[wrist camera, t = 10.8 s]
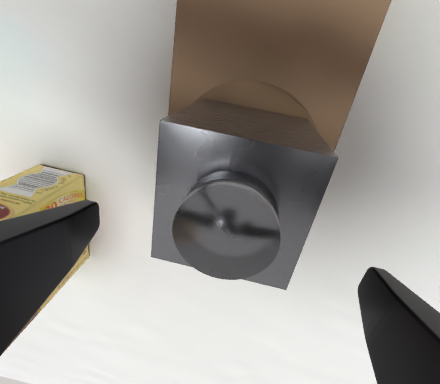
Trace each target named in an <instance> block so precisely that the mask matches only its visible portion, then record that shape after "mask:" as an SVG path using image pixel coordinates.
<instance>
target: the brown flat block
mask: <svg viewBox="0 0 440 384" xmlns="http://www.w3.org/2000/svg"><path fill="white" fill-rule="evenodd" d="M390 3H391V0H177V8H176V22H175V35H174V48H173V61H172V75H171V88H170V101H169V114H168V116H169V115H171V114H173V113H175V112H177V111H179V110H181V109H183V108H185V107H187V106H189V105H191V104H193V103H195V102H197V101H198V100H200V99H202V98H206V99H211V100H216V101H221V102H226V103H231V104H236V105H241V106H246V107H251V108H256V109H261V110H266V111H271V112H276V113H281V114H286V115H291V116H296V117H301V118H306V119H308V120H309V121H310V123H311V124H312V125H313V126H314V128H315V129H316V130H317V132H318V133H319V134H320V135H321V137H322V138H323V139H324V140H325V142H326V143H327V144H328V145H329V147H330V148H331V149H332V150H333V152H334V150H335V148H336V145H337V142H338V140H339V137H340V134H341V132H342V129H343V126H344V124H345V121H346V119H347V116H348V113H349V111H350V108H351V105H352V103H353V100H354V97H355V95H356V92H357V90H358V87H359V84H360V82H361V79H362V76H363V74H364V71H365V68H366V66H367V63H368V61H369V58H370V55H371V53H372V50H373V47H374V45H375V42H376V39H377V37H378V34H379V32H380V29H381V26H382V24H383V21H384V18H385V16H386V13H387V10H388V8H389V5H390Z"/></svg>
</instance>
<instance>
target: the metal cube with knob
mask: <svg viewBox="0 0 440 384" xmlns="http://www.w3.org/2000/svg"><path fill="white" fill-rule="evenodd" d="M337 160H338V157H337V155H336V154H335V153H334V152H333V150H332V149H331V148H330V147H329V145H328V144H327V143H326V142H325V140H324V139H323V138H322V137H321V135H320V134H319V133H318V132H317V130H316V129H315V128H314V126H313V125H312V124H311V123H310V121H309V120H308V119H306V118H301V117H296V116H291V115H286V114H281V113H276V112H271V111H266V110H261V109H256V108H251V107H246V106H241V105H236V104H231V103H226V102H221V101H216V100H211V99H206V98H202V99H200V100H198V101H197V102H195V103H193V104H191V105H189V106H187V107H185V108H183V109H181V110H179V111H177V112H175V113H173V114H171V115H169V116H167V117H165V118H163V119H162V120H160V125H159V140H158V156H157V172H156V187H155V203H154V218H153V234H152V250H151V257H154V258H158V259H162V260H166V261H170V262H174V263H178V264H182V265H186V266H190V267H194V268H195V269H197V270H198V271H200V272H202V273H204V274H206V275H209V276H212V277H215V278H220V279H228V280H236V279H243V280H248V281H252V282H256V283H260V284H264V285H268V286H272V287H276V288H280V289H284V290H286V289H287V286H288V284H289V281H290V279H291V276H292V274H293V271H294V269H295V266H296V264H297V261H298V259H299V256H300V254H301V251H302V249H303V246H304V243H305V241H306V238H307V236H308V233H309V231H310V228H311V226H312V223H313V221H314V218H315V216H316V213H317V211H318V208H319V206H320V203H321V200H322V198H323V195H324V193H325V190H326V188H327V185H328V183H329V180H330V178H331V175H332V173H333V170H334V168H335V165H336V163H337Z"/></svg>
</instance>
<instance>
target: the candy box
mask: <svg viewBox="0 0 440 384" xmlns="http://www.w3.org/2000/svg"><path fill="white" fill-rule="evenodd" d="M82 200H85V188H84V176H83V175H81V174H76V173H72V172H67V171H63V170H58V169H54V168H50V167H46V166H42V165H37V166H34V167H32V168H30V169H28V170H25V171H23V172H21V173H19V174H16V175H14V176H12V177H10V178H8V179H5V180H3V181H1V182H0V221H2V220H6V219H10V218H14V217H18V216H22V215H26V214H30V213H34V212H38V211H42V210H46V209H50V208H54V207H58V206H62V205H66V204H70V203H74V202H78V201H82ZM88 258H89V254H88V245H87V247H86V248H85V250H84V252H83V253H82V255H81V256H80V258H79V259H78V261H77V262H76V263H75V265H74V266H73V268H72V269H71V270H70V271H69V273H68V274H67V275H66V276H65V278H64V279H63V280H62V281H61V282H60V284H59V285H58V286H57V287H56V289H55V290H54V291H53V292H52V293H51V295H50V296H49V297H48V298H47V300H46V301H45V302H44V303H43V305H42V306H41V307H40V308H39V309H38V311H37V312H36V313H35V314H34V316H33V317H32V318H31V319H30V320H29V322H28V323H27V324H26V325H25V327H24V328H23V329H22V330H21V331H20V333H21V332H22V331H23V330H24V329H25V328H26V327H27V325H28V324H29V323H30V322H31V321H32V320H33V319H34V318H35V317H36V315H37V314H38V313H39V312H40V311H41V310H42V309H43V308H44V307H45V306H46V304H47V303H48V302H49V301H50V300H51V299H52V298H53V296H54V295H55V294H56V293H57V292H58V291H59V290H60V289H61V288H62V286H63V285H64V284H65V283H66V282H67V281H68V280H69V279H70V277H71V276H72V275H73V274H74V273H75V272H76V271H77V270H78V269H79V268H80V266H81V265H82V264H83V263H84V262H85V261H86V260H87V259H88ZM20 333H19V334H20ZM19 334H18V335H17V336H16V338H17V337H18V336H19ZM16 338H15V339H16ZM15 339H14V340H15ZM14 340H13V341H14ZM13 341H12V342H13ZM12 342H11V343H12ZM9 346H10V345H9ZM9 346H8V347H9ZM8 347H7V348H8ZM2 354H3V353H2Z"/></svg>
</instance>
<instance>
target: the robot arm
mask: <svg viewBox="0 0 440 384" xmlns="http://www.w3.org/2000/svg"><path fill="white" fill-rule="evenodd" d="M99 224H100V219H99V205H98V203H96V202H93V201H89V200H82V201H78V202H74V203H70V204H66V205H62V206H58V207H54V208H50V209H46V210H42V211H38V212H34V213H30V214H26V215H22V216H18V217H14V218H10V219H6V220H2V221H0V356H1V355H2V353H3V352H4V351H5V350H6V349H7V347H8V346H9V345H10V344H11V342H12V341H13V340H14V339H15V338H16V336H17V335H18V334H19V333H20V331H21V330H22V329H23V328H24V327H25V325H26V324H27V323H28V322H29V320H30V319H31V318H32V317H33V316H34V314H35V313H36V312H37V311H38V309H39V308H40V307H41V306H42V305H43V303H44V302H45V301H46V300H47V298H48V297H49V296H50V295H51V293H52V292H53V291H54V290H55V289H56V287H57V286H58V285H59V284H60V282H61V281H62V280H63V279H64V278H65V276H66V275H67V274H68V273H69V271H70V270H71V269H72V268H73V266H74V265H75V263H76V262H77V261H78V259H79V258H80V256H81V255H82V253H83V252H84V250H85V248H86V247H87V245H88V244H89V242H90V241H91V239H92V238H93V236H94V235H95V233H96V232H97V230H98V228H99ZM358 297H359V304H360V310H361V316H362V322H363V328H364V334H365V339H366V343H367V347H368V351H369V355H370V358H371V362H372V366H373V369H374V373H375V377H376V380H377V384H440V313H439V312H438V311H436V310H435V309H434V308H433V307H431V306H430V305H429V304H428V303H426V302H425V301H424V300H423V299H421V298H420V297H419V296H418V295H416V294H415V293H414V292H412V291H411V290H410V289H409V288H407V287H406V286H405V285H404V284H402V283H401V282H400V281H399V280H397V279H396V278H395V277H393V276H392V275H391V274H390V273H388V272H387V271H386V270H384V269H380V268H375V267H370V268H369V269H368V270H367V271H366V273H365V275H364V277H363V278H362V280H361V282H360V284H359V286H358Z"/></svg>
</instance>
